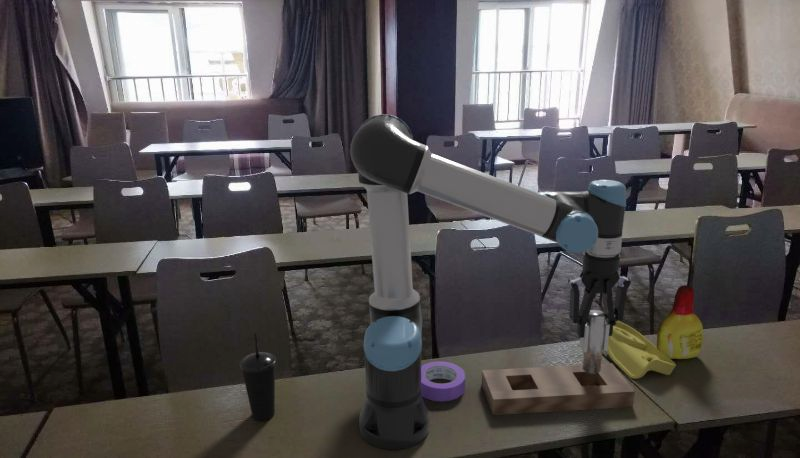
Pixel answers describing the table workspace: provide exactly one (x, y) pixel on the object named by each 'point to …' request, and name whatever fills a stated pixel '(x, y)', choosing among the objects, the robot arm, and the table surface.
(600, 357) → the steel pin
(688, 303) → the bottle
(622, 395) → the brown block with holes
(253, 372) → the drinking cup
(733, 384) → the table surface
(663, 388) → the table surface
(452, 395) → the masking tape
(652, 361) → the plastic component
